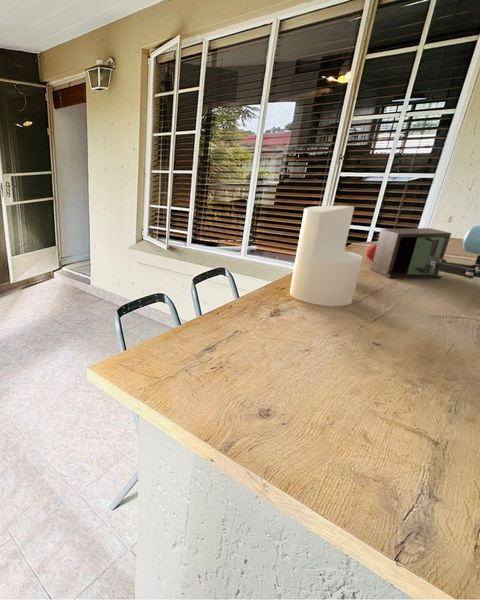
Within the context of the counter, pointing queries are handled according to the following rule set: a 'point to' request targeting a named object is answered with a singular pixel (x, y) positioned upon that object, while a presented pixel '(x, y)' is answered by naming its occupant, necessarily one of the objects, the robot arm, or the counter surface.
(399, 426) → the counter surface
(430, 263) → the robot arm
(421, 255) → the door
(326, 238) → the cream stepped cylinder
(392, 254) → the cabinet
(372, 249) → the onion
